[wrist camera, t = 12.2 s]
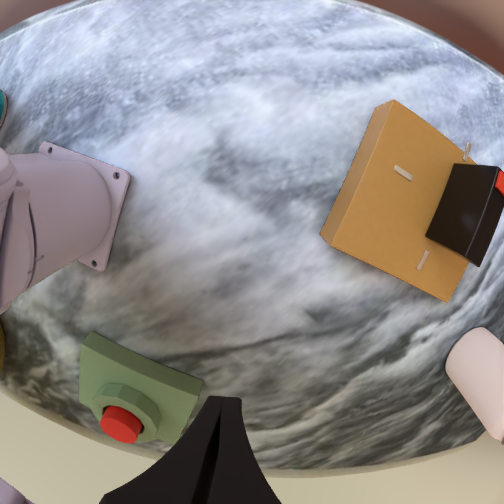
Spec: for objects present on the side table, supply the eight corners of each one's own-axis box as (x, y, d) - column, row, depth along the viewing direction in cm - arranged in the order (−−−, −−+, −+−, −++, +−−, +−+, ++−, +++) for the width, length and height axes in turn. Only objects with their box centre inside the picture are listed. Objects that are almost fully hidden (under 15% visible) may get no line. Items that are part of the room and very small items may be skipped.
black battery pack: (439, 245, 16) (482, 269, 12) (423, 236, 16) (467, 258, 11) (467, 174, 15) (514, 181, 10) (453, 162, 14) (501, 166, 10)
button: (105, 419, 21) (99, 431, 19) (107, 399, 20) (100, 412, 18) (139, 435, 21) (134, 448, 20) (144, 416, 20) (139, 430, 19)
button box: (87, 389, 24) (71, 413, 21) (91, 330, 22) (70, 354, 18) (179, 430, 26) (171, 458, 22) (203, 380, 23) (195, 412, 19)
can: (442, 345, 22) (506, 426, 10) (487, 314, 21) (557, 376, 10) (443, 384, 24) (491, 458, 12) (485, 355, 23) (539, 416, 11)
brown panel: (319, 234, 19) (330, 246, 16) (379, 97, 16) (398, 87, 13) (431, 289, 20) (451, 305, 17) (481, 175, 17) (505, 179, 14)
